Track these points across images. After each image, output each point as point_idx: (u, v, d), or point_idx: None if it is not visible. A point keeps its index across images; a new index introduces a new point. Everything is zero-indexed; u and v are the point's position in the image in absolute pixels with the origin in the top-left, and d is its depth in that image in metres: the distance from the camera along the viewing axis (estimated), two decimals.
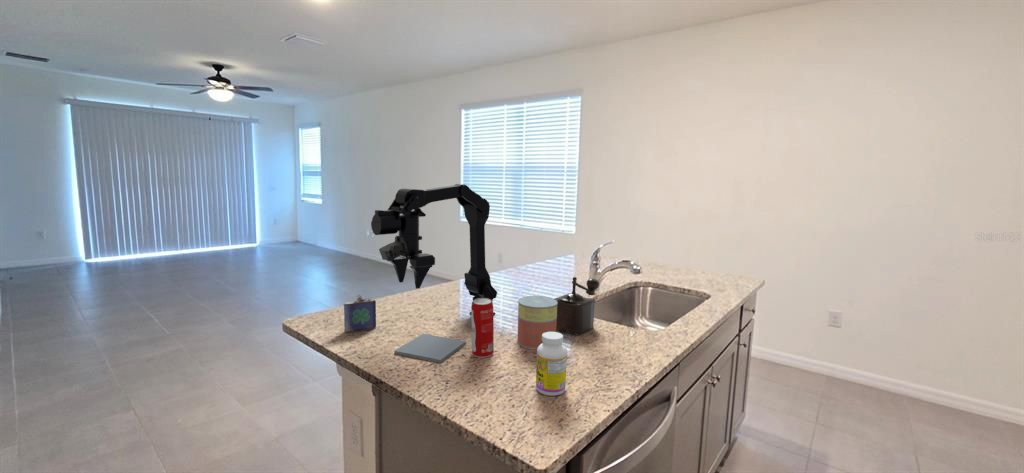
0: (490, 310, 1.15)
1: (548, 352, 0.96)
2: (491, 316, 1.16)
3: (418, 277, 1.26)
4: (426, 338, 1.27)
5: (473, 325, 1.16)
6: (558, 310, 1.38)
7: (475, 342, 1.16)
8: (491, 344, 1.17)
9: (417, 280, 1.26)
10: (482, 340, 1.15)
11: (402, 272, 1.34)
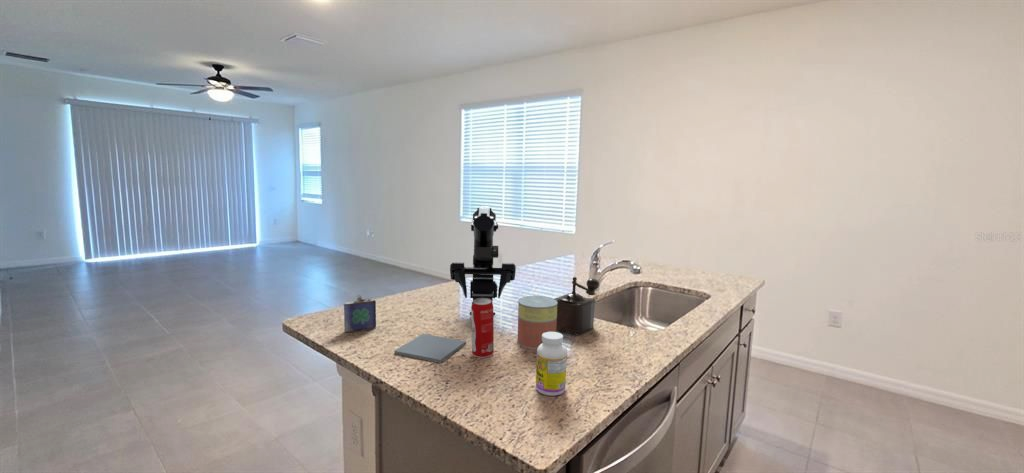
0: (490, 310, 1.15)
1: (548, 352, 0.96)
2: (491, 316, 1.16)
3: (503, 285, 1.27)
4: (426, 338, 1.27)
5: (473, 325, 1.16)
6: (558, 310, 1.38)
7: (475, 342, 1.16)
8: (491, 344, 1.17)
9: (502, 288, 1.26)
10: (482, 340, 1.15)
11: None
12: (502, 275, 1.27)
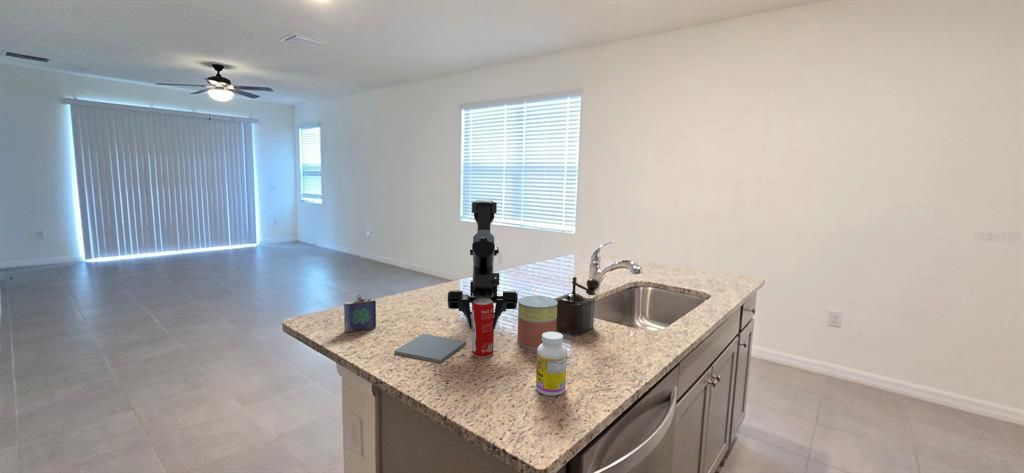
0: (491, 310, 1.15)
1: (548, 352, 0.96)
2: (491, 316, 1.16)
3: (498, 315, 1.18)
4: (426, 338, 1.27)
5: (473, 325, 1.16)
6: (558, 310, 1.38)
7: (475, 341, 1.16)
8: (491, 344, 1.17)
9: (497, 318, 1.18)
10: (482, 340, 1.15)
11: None
12: (497, 304, 1.18)
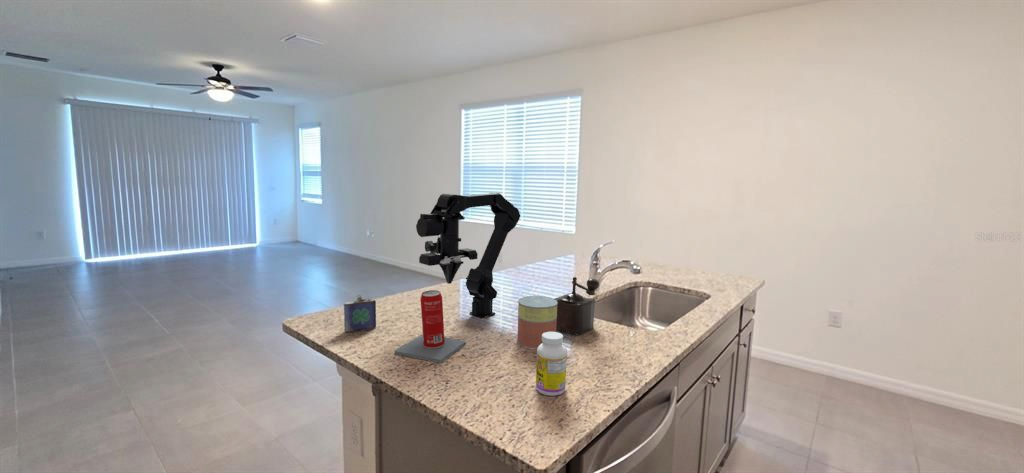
0: (434, 302, 1.17)
1: (548, 352, 0.96)
2: (436, 309, 1.18)
3: (444, 272, 1.40)
4: None
5: None
6: (558, 310, 1.37)
7: (423, 331, 1.20)
8: (437, 336, 1.19)
9: (444, 275, 1.40)
10: (427, 331, 1.19)
11: None
12: None
